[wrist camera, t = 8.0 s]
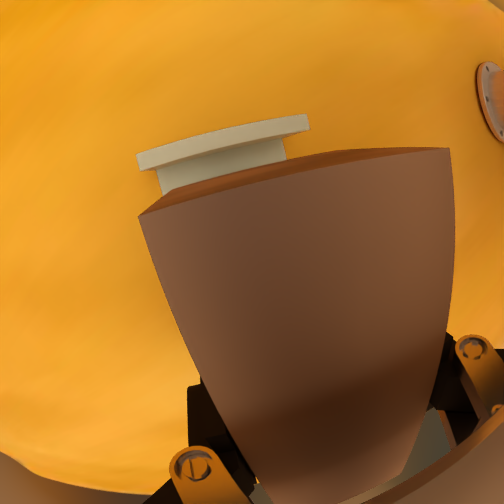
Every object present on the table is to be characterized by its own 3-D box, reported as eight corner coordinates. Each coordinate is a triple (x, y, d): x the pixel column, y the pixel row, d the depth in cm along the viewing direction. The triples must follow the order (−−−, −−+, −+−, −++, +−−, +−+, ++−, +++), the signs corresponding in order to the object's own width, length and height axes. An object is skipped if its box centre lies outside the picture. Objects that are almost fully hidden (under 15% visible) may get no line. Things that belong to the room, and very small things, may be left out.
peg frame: (274, 125, 22) (305, 109, 15) (312, 314, 27) (343, 355, 21) (154, 155, 21) (134, 150, 14) (214, 344, 26) (221, 394, 20)
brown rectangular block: (336, 150, 9) (449, 147, 4) (358, 408, 13) (400, 473, 8) (172, 189, 8) (138, 216, 4) (262, 443, 12) (285, 520, 8)
